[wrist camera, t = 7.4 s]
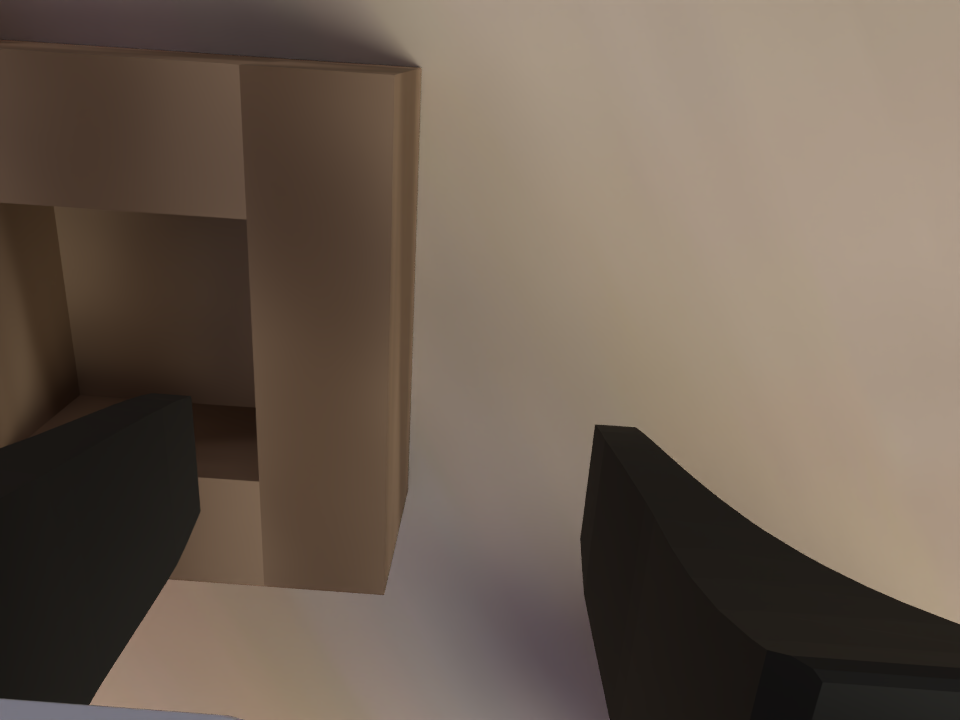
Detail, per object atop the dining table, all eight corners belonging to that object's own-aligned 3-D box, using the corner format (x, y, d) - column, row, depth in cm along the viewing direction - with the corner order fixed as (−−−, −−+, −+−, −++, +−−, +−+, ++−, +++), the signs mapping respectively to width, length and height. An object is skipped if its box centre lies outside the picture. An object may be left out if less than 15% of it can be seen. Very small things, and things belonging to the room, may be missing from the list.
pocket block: (421, 68, 18) (394, 75, 14) (407, 490, 22) (384, 594, 18) (-63, 35, 18) (-236, 32, 14) (13, 461, 22) (-102, 559, 18)
